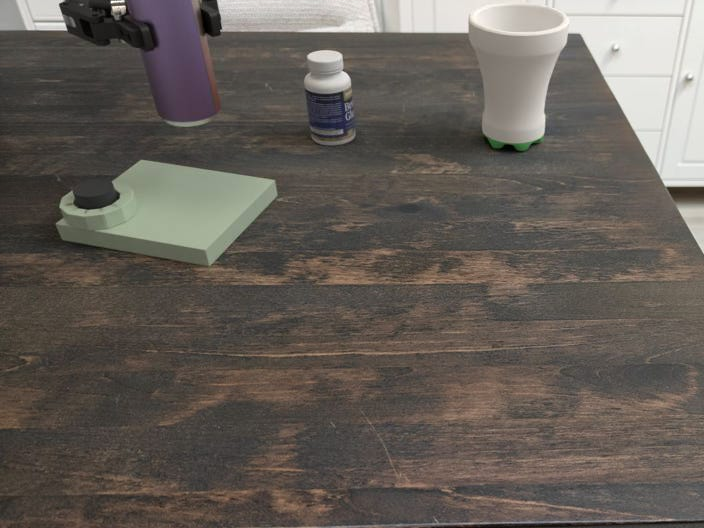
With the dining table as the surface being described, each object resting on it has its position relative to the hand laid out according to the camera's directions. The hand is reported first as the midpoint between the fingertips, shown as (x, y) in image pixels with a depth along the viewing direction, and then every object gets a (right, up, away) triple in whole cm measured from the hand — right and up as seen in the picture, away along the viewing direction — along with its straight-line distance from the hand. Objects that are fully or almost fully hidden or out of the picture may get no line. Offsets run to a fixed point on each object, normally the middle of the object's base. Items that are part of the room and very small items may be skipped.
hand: (182, 32), depth 66 cm
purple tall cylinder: (-2, -5, +7) cm, 9 cm away
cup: (+30, -2, +25) cm, 40 cm away
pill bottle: (+9, -2, +25) cm, 26 cm away
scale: (-5, -15, +10) cm, 18 cm away
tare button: (-11, -14, +6) cm, 18 cm away
